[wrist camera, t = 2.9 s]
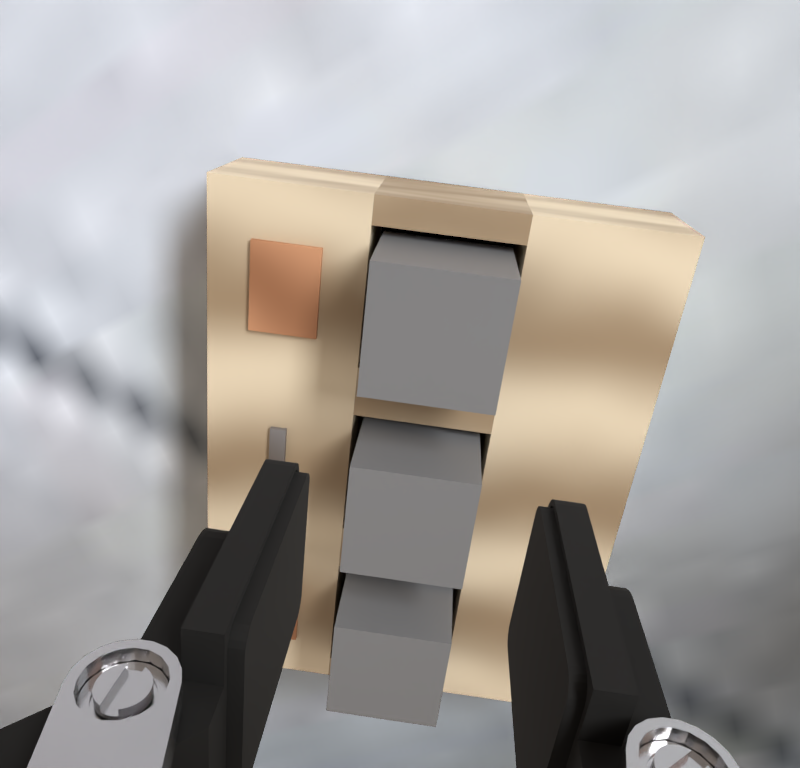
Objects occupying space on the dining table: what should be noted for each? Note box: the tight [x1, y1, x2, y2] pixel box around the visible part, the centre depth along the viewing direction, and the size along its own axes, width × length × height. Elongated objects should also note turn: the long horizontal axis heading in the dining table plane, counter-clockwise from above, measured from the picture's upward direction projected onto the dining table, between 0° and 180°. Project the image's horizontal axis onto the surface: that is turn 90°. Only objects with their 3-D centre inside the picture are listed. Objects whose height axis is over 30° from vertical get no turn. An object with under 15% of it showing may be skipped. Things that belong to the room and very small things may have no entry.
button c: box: [326, 573, 453, 727], centre depth 29 cm, size 4×4×4 cm
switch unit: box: [207, 157, 705, 702], centre depth 29 cm, size 21×16×4 cm
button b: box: [340, 416, 482, 589], centre depth 26 cm, size 4×4×4 cm
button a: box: [357, 231, 521, 415], centre depth 23 cm, size 4×4×4 cm
